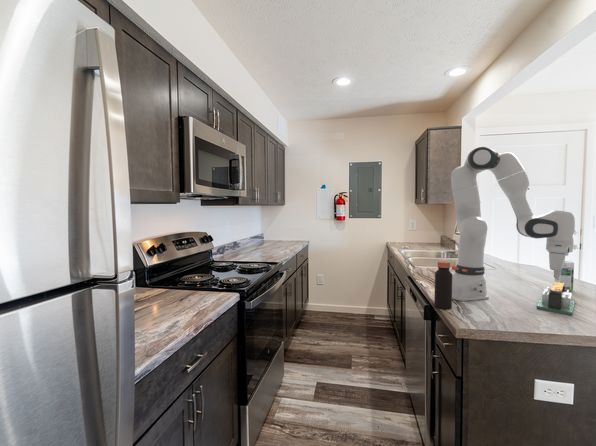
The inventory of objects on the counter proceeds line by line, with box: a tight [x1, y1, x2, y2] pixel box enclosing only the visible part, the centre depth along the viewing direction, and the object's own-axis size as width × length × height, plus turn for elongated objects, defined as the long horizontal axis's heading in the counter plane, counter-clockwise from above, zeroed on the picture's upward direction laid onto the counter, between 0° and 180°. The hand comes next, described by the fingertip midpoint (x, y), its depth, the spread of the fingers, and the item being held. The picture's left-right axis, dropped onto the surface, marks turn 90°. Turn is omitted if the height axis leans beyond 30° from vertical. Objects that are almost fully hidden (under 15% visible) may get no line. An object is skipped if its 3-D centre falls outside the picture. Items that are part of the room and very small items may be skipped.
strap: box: [549, 281, 564, 294], centre depth 126 cm, size 18×4×1 cm, turn 134°
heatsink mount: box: [536, 285, 576, 316], centre depth 126 cm, size 23×11×7 cm, turn 134°
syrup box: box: [554, 260, 575, 291], centre depth 150 cm, size 6×6×14 cm
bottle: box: [433, 260, 453, 310], centre depth 125 cm, size 7×7×20 cm
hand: (556, 277), depth 128 cm, fingers closed
